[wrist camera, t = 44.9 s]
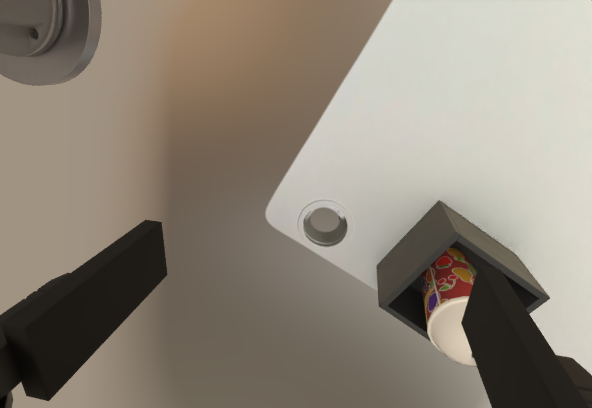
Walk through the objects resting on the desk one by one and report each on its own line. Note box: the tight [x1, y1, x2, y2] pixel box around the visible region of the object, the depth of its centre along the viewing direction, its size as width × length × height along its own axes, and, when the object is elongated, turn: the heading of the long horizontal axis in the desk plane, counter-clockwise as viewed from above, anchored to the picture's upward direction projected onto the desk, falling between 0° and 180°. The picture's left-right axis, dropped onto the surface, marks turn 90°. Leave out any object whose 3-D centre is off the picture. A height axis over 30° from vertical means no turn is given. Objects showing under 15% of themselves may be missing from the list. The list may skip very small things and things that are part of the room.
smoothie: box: [420, 247, 477, 367], centre depth 41 cm, size 8×8×20 cm
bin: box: [377, 200, 550, 340], centre depth 46 cm, size 14×14×10 cm
